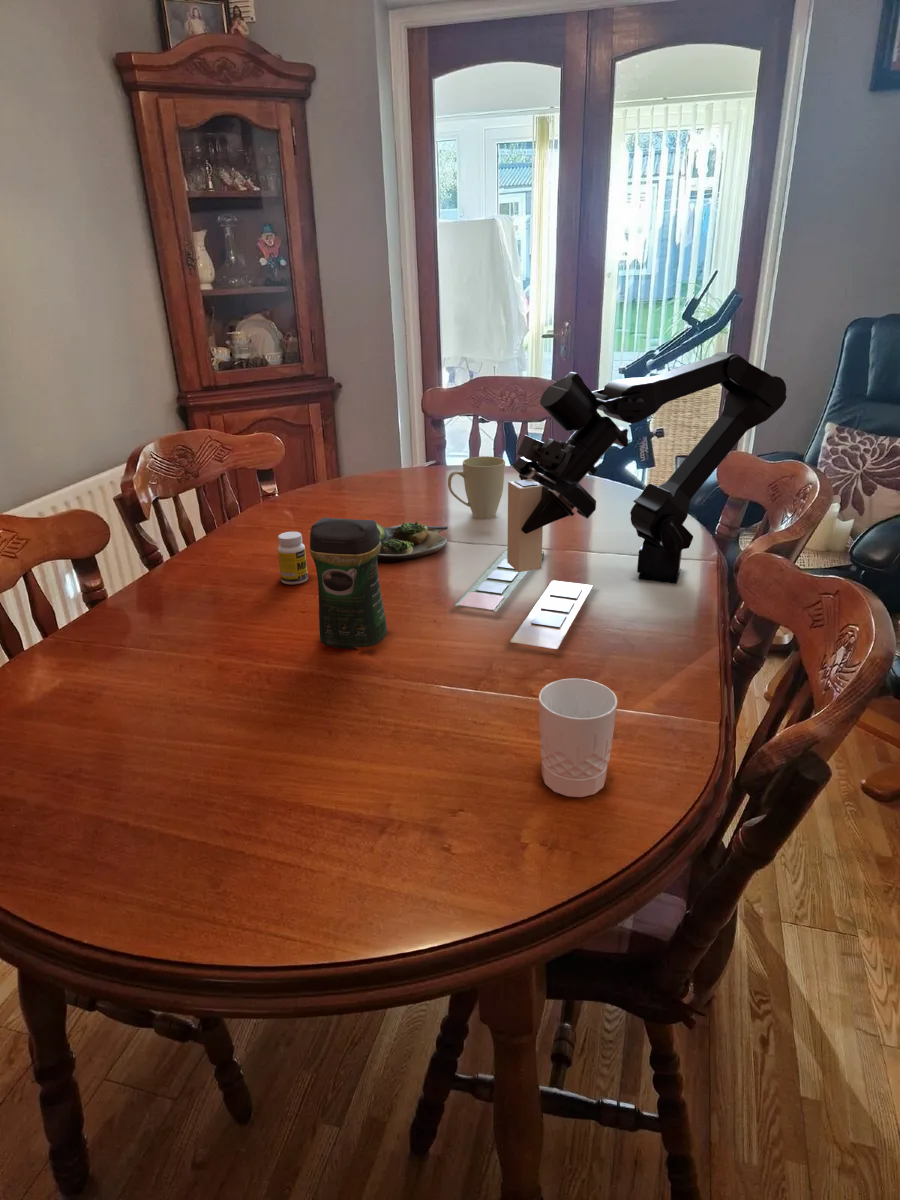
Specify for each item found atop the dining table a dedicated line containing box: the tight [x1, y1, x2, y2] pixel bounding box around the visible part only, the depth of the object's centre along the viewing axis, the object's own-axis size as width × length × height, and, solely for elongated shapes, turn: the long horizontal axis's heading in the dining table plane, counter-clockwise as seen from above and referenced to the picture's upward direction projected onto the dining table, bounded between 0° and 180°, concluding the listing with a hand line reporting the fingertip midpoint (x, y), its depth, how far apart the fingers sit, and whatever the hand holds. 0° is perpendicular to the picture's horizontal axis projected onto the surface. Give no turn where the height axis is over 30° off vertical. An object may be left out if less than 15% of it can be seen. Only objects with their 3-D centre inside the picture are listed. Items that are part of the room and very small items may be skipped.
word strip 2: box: [509, 579, 594, 651], centre depth 117 cm, size 24×7×1 cm, turn 158°
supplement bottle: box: [277, 531, 309, 586], centre depth 131 cm, size 5×5×8 cm
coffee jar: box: [309, 516, 388, 651], centre depth 108 cm, size 10×8×19 cm
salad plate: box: [376, 521, 449, 564], centre depth 147 cm, size 19×18×5 cm
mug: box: [447, 455, 506, 520], centre depth 161 cm, size 11×10×12 cm
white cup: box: [538, 678, 618, 798], centre depth 79 cm, size 8×8×10 cm
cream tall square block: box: [506, 479, 544, 572], centre depth 118 cm, size 4×4×14 cm
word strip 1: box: [454, 548, 545, 613], centre depth 130 cm, size 28×7×1 cm, turn 158°
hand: (516, 527), depth 118 cm, fingers closed on cream tall square block, 4 cm apart
